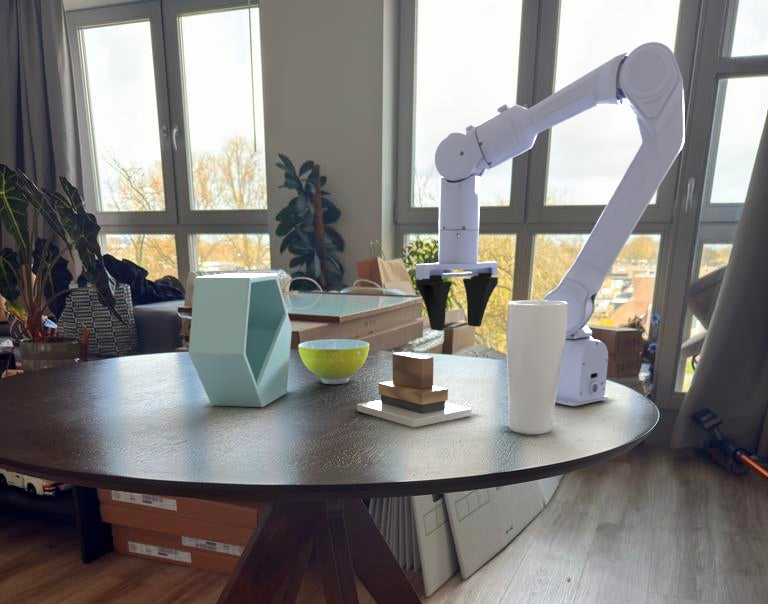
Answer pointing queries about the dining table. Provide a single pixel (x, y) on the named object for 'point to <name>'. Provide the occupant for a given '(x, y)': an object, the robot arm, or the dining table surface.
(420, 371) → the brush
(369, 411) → the tile
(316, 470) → the dining table surface
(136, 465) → the dining table surface
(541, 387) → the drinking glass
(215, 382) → the planter
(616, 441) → the dining table surface
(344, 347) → the bowl
